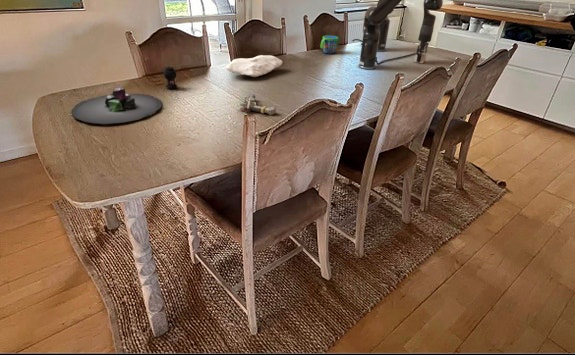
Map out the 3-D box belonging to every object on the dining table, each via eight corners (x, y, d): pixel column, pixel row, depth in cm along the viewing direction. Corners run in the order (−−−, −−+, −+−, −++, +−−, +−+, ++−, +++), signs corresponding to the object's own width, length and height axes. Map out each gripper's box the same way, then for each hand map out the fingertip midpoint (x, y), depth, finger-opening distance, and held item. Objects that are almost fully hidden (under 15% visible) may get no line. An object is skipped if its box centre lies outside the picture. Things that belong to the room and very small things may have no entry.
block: (414, 61, 232) (415, 53, 229) (416, 60, 236) (418, 52, 233) (422, 63, 230) (423, 55, 227) (424, 61, 233) (426, 53, 230)
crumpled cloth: (213, 69, 198) (213, 53, 192) (266, 60, 216) (267, 45, 210) (236, 88, 185) (236, 71, 179) (290, 76, 203) (292, 61, 197)
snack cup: (333, 49, 252) (334, 34, 247) (343, 53, 245) (344, 37, 239) (315, 52, 245) (316, 36, 239) (324, 55, 237) (326, 39, 232)
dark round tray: (174, 113, 149) (170, 91, 144) (79, 131, 131) (72, 107, 127) (148, 93, 173) (144, 73, 169) (65, 106, 156) (59, 85, 151)
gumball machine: (165, 90, 172) (162, 69, 166) (163, 86, 176) (159, 65, 171) (180, 88, 175) (177, 67, 169) (177, 85, 179) (174, 64, 174)
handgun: (275, 94, 165) (242, 93, 164) (275, 109, 150) (239, 108, 149) (275, 100, 167) (242, 99, 166) (275, 115, 152) (239, 114, 151)
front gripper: (428, 35, 216) (421, 64, 226) (435, 32, 226) (428, 59, 236) (416, 33, 220) (409, 62, 229) (423, 30, 230) (417, 57, 239)
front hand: (419, 60), depth 232 cm, fingers closed on block, 5 cm apart
